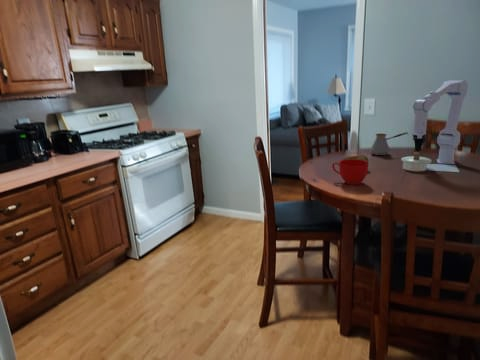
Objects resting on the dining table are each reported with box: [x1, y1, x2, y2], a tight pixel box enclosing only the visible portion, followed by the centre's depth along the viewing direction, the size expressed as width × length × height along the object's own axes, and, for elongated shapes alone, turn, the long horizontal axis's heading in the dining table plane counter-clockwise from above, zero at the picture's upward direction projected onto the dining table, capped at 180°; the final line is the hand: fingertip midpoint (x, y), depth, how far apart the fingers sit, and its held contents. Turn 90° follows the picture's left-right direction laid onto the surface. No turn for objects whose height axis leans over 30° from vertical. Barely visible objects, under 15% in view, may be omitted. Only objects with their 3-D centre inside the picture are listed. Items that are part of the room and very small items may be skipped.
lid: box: [400, 151, 432, 164], centre depth 177 cm, size 14×14×4 cm
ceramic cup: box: [331, 159, 369, 186], centre depth 161 cm, size 13×17×10 cm
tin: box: [342, 154, 369, 163], centre depth 180 cm, size 15×3×8 cm, turn 105°
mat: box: [426, 163, 460, 173], centre depth 178 cm, size 14×14×1 cm
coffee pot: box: [370, 131, 409, 156], centre depth 209 cm, size 21×12×15 cm, turn 52°
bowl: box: [402, 161, 427, 172], centre depth 178 cm, size 11×11×4 cm
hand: (417, 149), depth 176 cm, fingers open, 7 cm apart
